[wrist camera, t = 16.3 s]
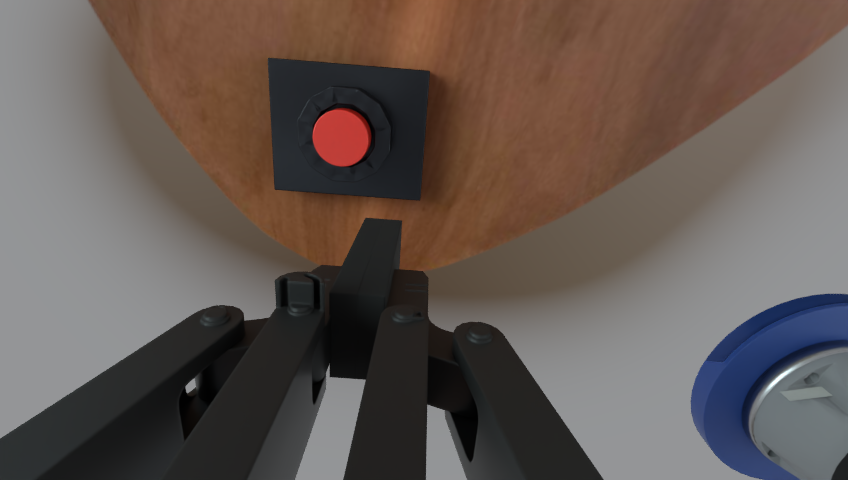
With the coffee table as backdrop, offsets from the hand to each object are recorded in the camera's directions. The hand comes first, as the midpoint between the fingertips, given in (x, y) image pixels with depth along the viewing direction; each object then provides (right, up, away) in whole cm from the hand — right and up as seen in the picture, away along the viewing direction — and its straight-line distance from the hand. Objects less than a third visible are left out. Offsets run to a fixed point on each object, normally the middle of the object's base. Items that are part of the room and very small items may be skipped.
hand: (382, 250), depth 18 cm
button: (-4, +8, +14) cm, 17 cm away
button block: (-4, +10, +17) cm, 20 cm away
